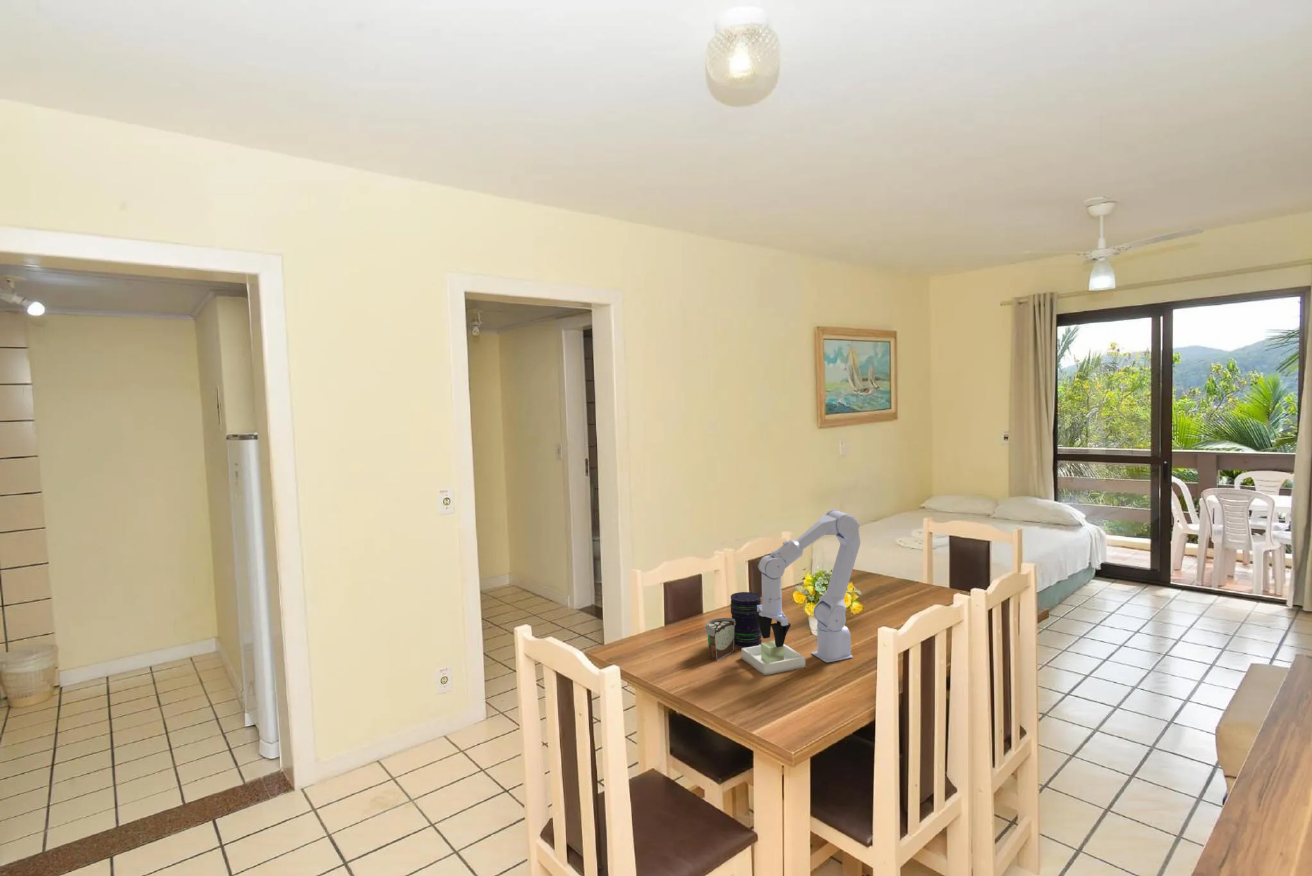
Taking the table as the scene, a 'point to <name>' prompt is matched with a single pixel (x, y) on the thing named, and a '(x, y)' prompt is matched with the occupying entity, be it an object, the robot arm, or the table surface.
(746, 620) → the storage jar
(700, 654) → the table surface
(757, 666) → the grey tray
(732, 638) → the food container
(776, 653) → the green block
